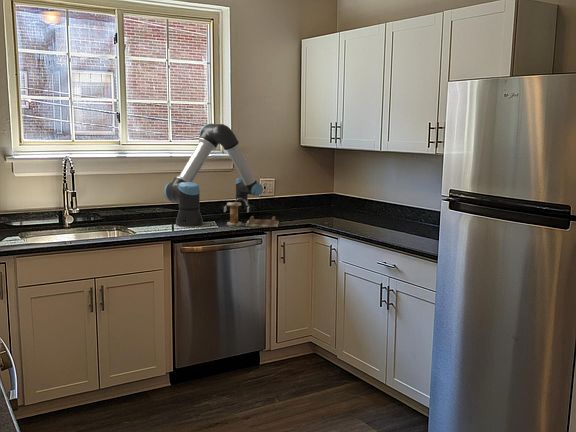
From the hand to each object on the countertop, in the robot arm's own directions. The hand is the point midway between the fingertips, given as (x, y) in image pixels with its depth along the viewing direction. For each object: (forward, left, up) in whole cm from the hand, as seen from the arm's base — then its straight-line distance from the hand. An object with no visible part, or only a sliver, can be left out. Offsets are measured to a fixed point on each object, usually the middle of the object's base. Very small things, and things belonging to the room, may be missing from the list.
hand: (236, 210), depth 346 cm
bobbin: (-5, -8, -7) cm, 12 cm away
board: (+10, -14, -7) cm, 19 cm away
